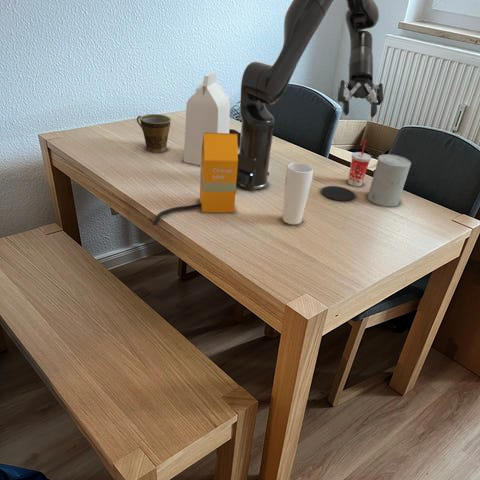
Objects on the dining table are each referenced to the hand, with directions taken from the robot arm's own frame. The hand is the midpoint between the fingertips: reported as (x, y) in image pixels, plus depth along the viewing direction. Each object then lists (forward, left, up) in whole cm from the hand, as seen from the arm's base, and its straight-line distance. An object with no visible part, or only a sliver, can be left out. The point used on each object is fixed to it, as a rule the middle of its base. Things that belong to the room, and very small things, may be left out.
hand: (360, 115), depth 152 cm
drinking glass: (-47, -6, -18) cm, 51 cm away
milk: (-30, +38, -18) cm, 52 cm away
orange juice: (-55, +14, -18) cm, 59 cm away
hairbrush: (-7, +40, -18) cm, 44 cm away
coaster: (-21, -7, -18) cm, 28 cm away
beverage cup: (-9, -7, -18) cm, 21 cm away
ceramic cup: (-36, +57, -18) cm, 70 cm away
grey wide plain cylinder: (-14, -19, -18) cm, 30 cm away
